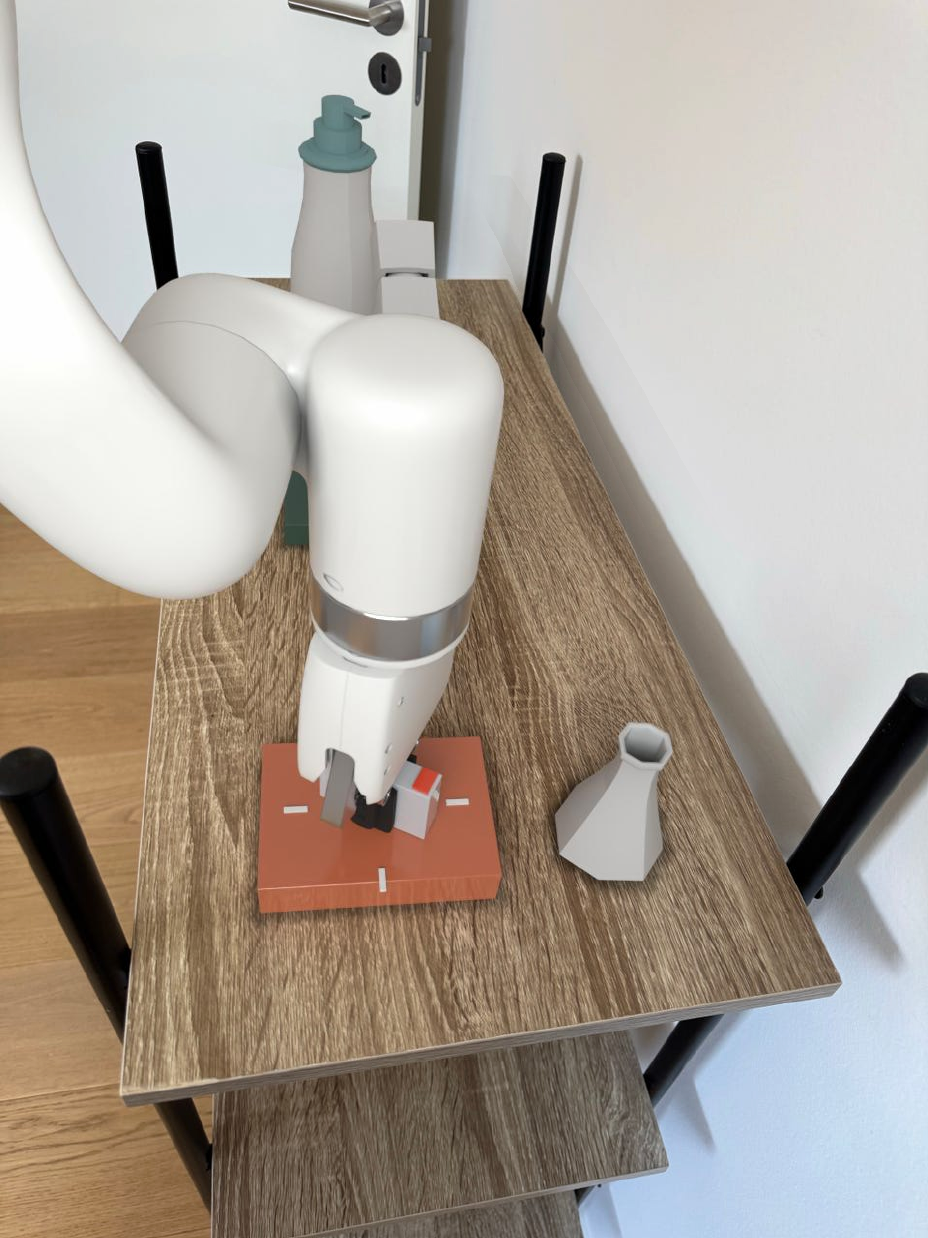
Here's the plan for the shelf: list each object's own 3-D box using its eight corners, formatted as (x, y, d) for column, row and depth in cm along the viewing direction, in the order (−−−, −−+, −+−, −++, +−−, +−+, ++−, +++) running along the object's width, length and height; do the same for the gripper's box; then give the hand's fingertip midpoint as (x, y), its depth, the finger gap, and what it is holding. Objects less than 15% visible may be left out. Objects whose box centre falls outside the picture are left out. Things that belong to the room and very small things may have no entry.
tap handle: (319, 795, 55) (318, 750, 52) (333, 773, 57) (333, 727, 53) (423, 840, 54) (430, 796, 51) (436, 816, 55) (442, 772, 52)
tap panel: (259, 923, 53) (256, 898, 50) (265, 762, 60) (262, 734, 58) (497, 908, 55) (504, 883, 53) (473, 754, 62) (479, 726, 60)
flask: (669, 805, 61) (714, 714, 54) (654, 900, 56) (701, 814, 49) (565, 773, 62) (596, 680, 55) (541, 864, 57) (571, 774, 50)
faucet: (384, 433, 79) (369, 210, 80) (368, 476, 95) (356, 289, 96) (455, 432, 80) (440, 212, 81) (427, 475, 96) (415, 290, 97)
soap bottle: (331, 363, 95) (332, 126, 78) (272, 324, 99) (260, 91, 82) (400, 334, 100) (413, 108, 84) (341, 298, 104) (343, 76, 88)
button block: (285, 545, 75) (283, 507, 72) (287, 470, 82) (285, 433, 79) (430, 545, 77) (434, 508, 74) (420, 471, 84) (423, 435, 81)
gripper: (392, 470, 48) (379, 691, 61) (226, 676, 37) (254, 888, 51) (525, 516, 47) (482, 731, 60) (391, 743, 36) (375, 944, 49)
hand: (377, 802), depth 55 cm, fingers closed on tap handle, 2 cm apart
